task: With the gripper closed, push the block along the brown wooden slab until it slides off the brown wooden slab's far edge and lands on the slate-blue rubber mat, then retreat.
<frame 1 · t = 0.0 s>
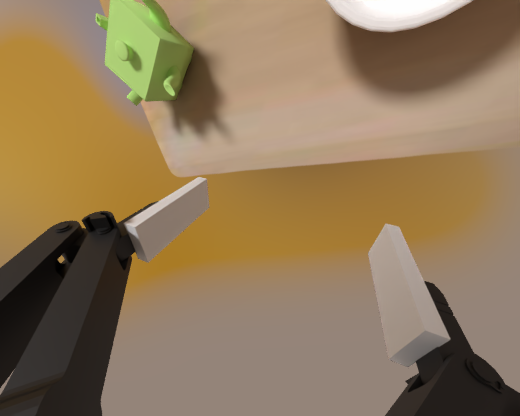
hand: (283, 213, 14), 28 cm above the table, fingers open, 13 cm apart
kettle: (175, 61, 38), on the table
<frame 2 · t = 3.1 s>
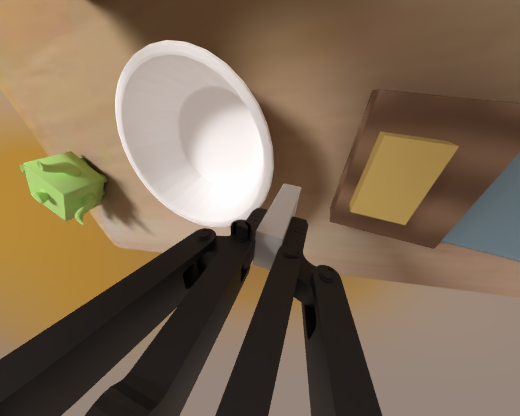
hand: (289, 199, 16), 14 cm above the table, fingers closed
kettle: (96, 178, 47), on the table
brown wooden slab: (401, 168, 24), on the table
bowl: (221, 141, 30), on the table
block: (391, 177, 21), point 4 cm above the table, touching brown wooden slab
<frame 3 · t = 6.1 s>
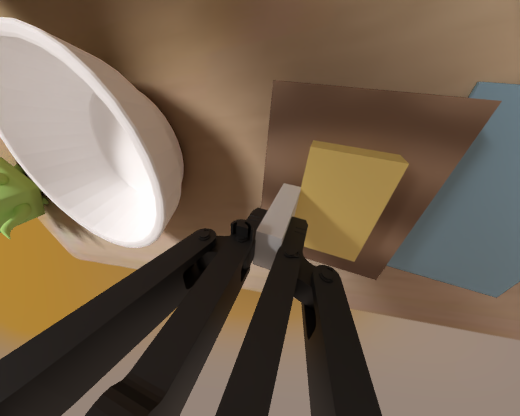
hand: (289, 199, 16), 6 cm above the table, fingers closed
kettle: (36, 185, 43), on the table
mat: (488, 212, 16), on the table
brown wooden slab: (334, 180, 19), on the table
bowl: (142, 146, 26), on the table
block: (335, 199, 16), point 4 cm above the table, touching gripper
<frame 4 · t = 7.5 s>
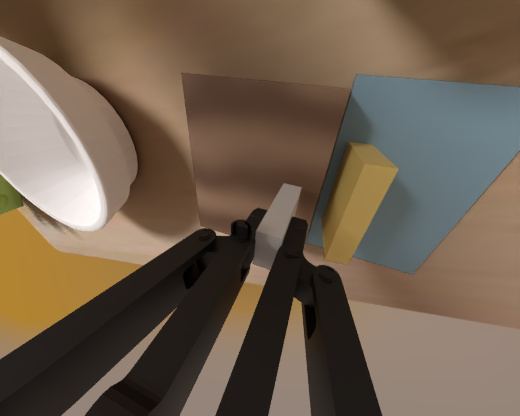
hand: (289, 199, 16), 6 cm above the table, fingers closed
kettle: (14, 178, 45), on the table
mat: (389, 193, 18), on the table
brown wooden slab: (263, 166, 21), on the table
bowl: (100, 138, 28), on the table
block: (336, 200, 17), point 4 cm above the table, tilted 97°, touching mat
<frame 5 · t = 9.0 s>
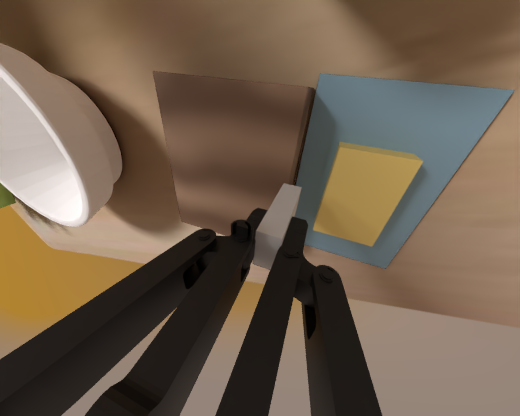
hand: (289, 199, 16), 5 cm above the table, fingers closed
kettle: (6, 175, 45), on the table
mat: (358, 189, 19), on the table
brown wooden slab: (240, 163, 22), on the table
bowl: (86, 135, 28), on the table
block: (357, 202, 17), point 2 cm above the table, tilted 180°, touching mat
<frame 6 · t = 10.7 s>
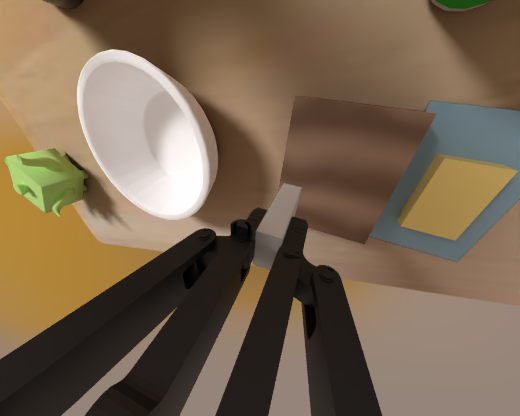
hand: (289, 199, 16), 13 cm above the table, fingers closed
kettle: (78, 174, 50), on the table
mat: (444, 192, 23), on the table
brown wooden slab: (334, 168, 26), on the table
bowl: (182, 141, 33), on the table
block: (450, 202, 21), point 2 cm above the table, tilted 180°, touching mat
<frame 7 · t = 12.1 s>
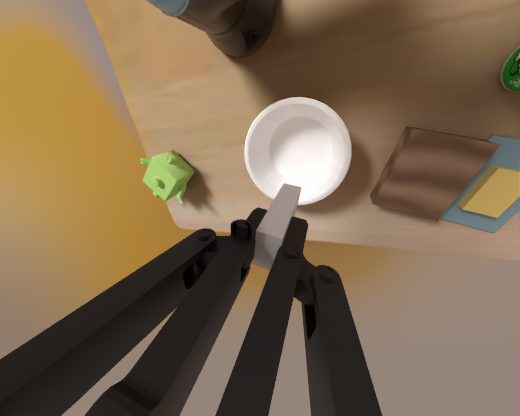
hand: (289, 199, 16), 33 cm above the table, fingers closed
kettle: (183, 170, 62), on the table
mat: (492, 188, 37), on the table
brown wooden slab: (419, 172, 40), on the table
bowl: (299, 149, 46), on the table
block: (498, 194, 35), point 2 cm above the table, tilted 180°, touching mat
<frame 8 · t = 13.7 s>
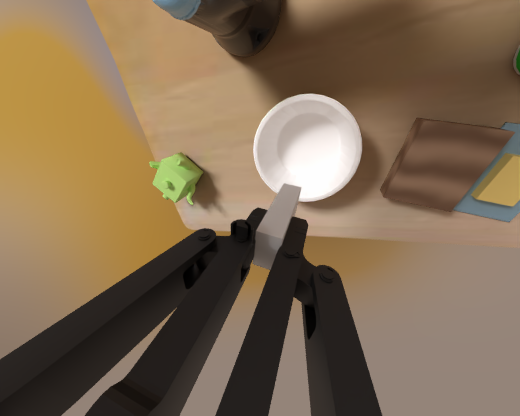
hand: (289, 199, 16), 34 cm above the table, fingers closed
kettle: (191, 172, 63), on the table
mat: (506, 176, 36), on the table
brown wooden slab: (430, 163, 39), on the table
bowl: (307, 146, 46), on the table
block: (513, 182, 35), point 2 cm above the table, tilted 180°, touching mat
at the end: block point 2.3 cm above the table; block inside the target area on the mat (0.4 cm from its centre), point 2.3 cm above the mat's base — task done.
